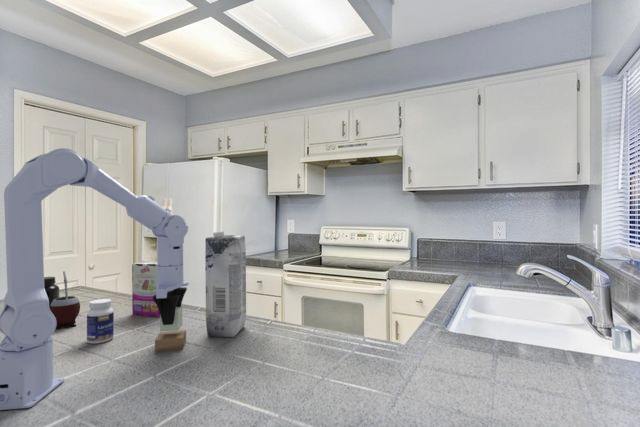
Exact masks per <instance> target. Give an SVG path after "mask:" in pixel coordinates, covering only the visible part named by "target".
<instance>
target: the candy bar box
mask: <svg viewBox="0 0 640 427" xmlns="http://www.w3.org/2000/svg"><path fill="white" fill-rule="evenodd" d="M157 266H158V265H157V261H156V262H155V261H154V262H153V261H151V262H150V261H140V262H139V261H138V262H134V263H131V275H132V276H131V278H132V279H131V280H132V281H131V288H132V289H131V290H132V291H131V292H132V294H131V297H132V302H131V304H132V306H131V307H132V315H133V316H134V315H135V316H141V317H142V316H144V317H154V318H155V317H156V318H160V312H159V309H158V307H157V305H156V303H155V302H154V300H153V296H154V295H155V294H156V290H157V284H158V273H157Z"/></svg>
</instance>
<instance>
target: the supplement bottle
mask: <svg viewBox="0 0 640 427" xmlns="http://www.w3.org/2000/svg"><path fill="white" fill-rule="evenodd" d="M56 282H57V281H56V277H55V276H44V288H45V291H46V294H47V296H48V299H49V308H50V306H51V303H52V301H53V300H54V299H56V298H60V297H61V296H60V287H59V286H58V284H56Z"/></svg>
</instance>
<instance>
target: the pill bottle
mask: <svg viewBox="0 0 640 427" xmlns="http://www.w3.org/2000/svg"><path fill="white" fill-rule="evenodd" d="M111 305H112V299H110V298H103V299H102V298H101V299H100V298H99V299H95V300H91V301H89V303H88V306H89V309H90V310H89V311H88V312H87V314H86V341H87V343H88V344H92V345H93V344H95V345H97V344H103V343H106V342H108V341H112V339H113V338H114V328H115V326H114V322H115V321H114V319H115V318H114V315H115V314H114V309H113V308H112V307H111Z"/></svg>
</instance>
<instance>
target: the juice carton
mask: <svg viewBox="0 0 640 427" xmlns="http://www.w3.org/2000/svg"><path fill="white" fill-rule="evenodd" d="M212 234H213V236H212V237H210V236H209V237H208V236H207V237H205V238H204V239H205V248H204V249H205V250H204V251H205V252H204V254H205V255H204V256H205V257H204V258H205V260H204V261H205V262H204V263H205V267H204V268H205V325H206V333H207V334H206V335H207V336H208V337H212V338H213V337H215V338H219V337H220V338H224V337H225V338H233V337H235V336H236V335H237V334H238V333H239V332H240V331H241V330H242V329H244V327H245V325H246V320H247V319H246V318H247V264H246V263H247V260H246V259H247V258H246V257H247V255H246V253H247V252H246V236H245V235H241V234H240V235H239V234H237V235H235V234H231V235H229V234H228V235H227V234H226V235H225V231H224V230H223V231H215V232H212Z"/></svg>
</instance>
